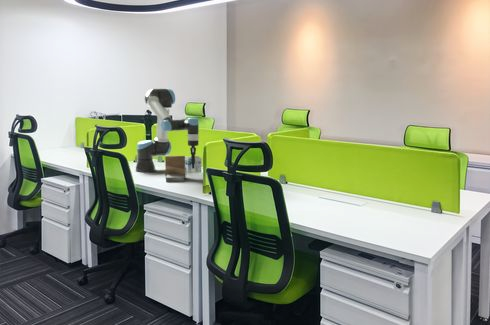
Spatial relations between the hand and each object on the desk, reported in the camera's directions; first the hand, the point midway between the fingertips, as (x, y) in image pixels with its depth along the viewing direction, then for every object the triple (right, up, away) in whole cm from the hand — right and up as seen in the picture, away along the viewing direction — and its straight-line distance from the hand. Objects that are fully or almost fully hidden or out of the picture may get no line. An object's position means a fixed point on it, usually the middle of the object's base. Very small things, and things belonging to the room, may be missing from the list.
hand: (193, 171), depth 311 cm
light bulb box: (0, -1, 0) cm, 1 cm away
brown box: (-13, -6, -1) cm, 14 cm away
